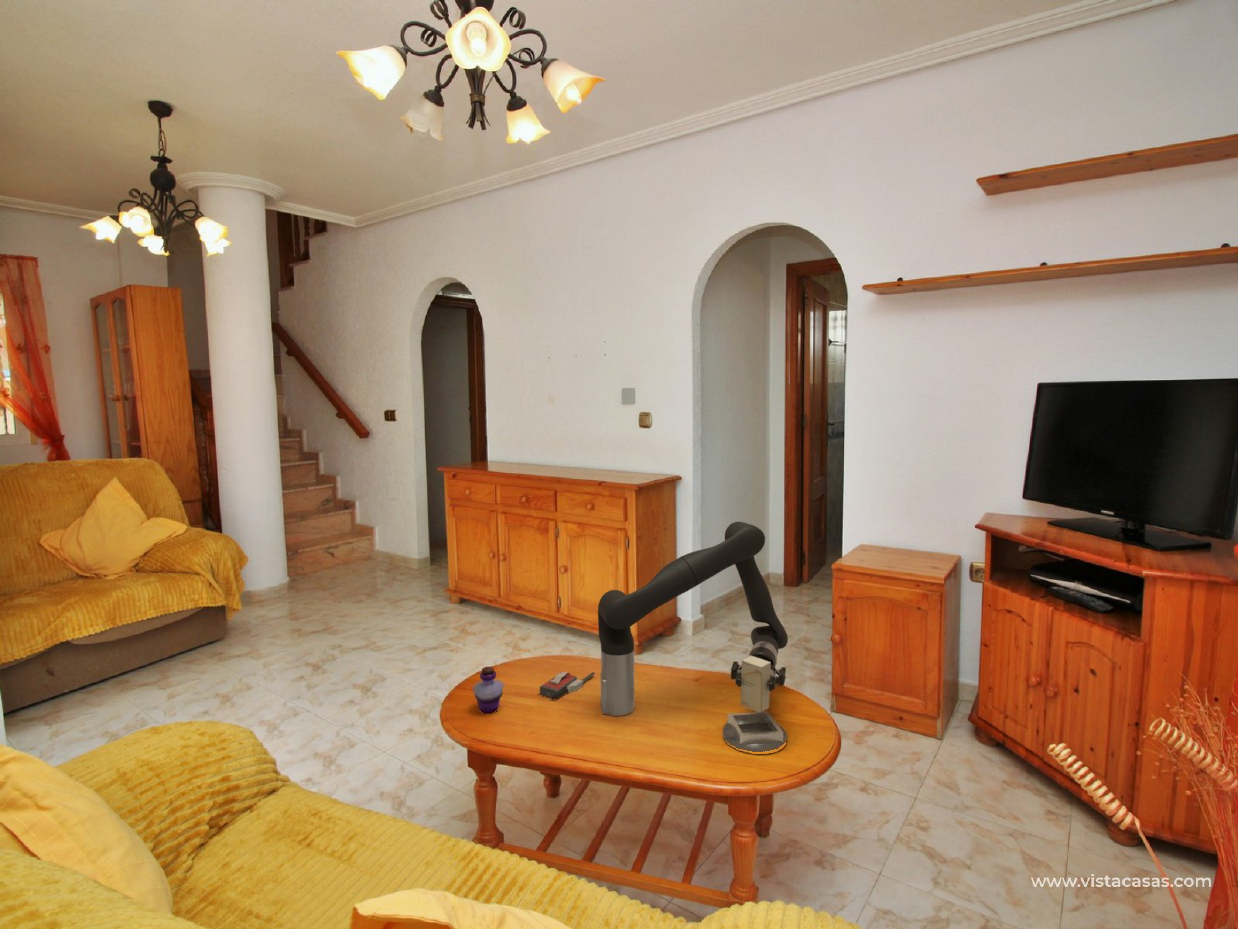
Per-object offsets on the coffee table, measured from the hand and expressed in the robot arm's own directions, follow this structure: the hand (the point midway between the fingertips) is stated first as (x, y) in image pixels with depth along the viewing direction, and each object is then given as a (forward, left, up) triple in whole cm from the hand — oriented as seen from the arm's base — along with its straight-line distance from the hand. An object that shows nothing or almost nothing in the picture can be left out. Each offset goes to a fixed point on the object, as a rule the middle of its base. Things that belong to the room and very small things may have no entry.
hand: (754, 685), depth 165 cm
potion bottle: (-68, +26, -15) cm, 74 cm away
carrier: (+1, +2, -15) cm, 15 cm away
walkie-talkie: (-46, +38, -16) cm, 62 cm away
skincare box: (+1, +2, -7) cm, 7 cm away
